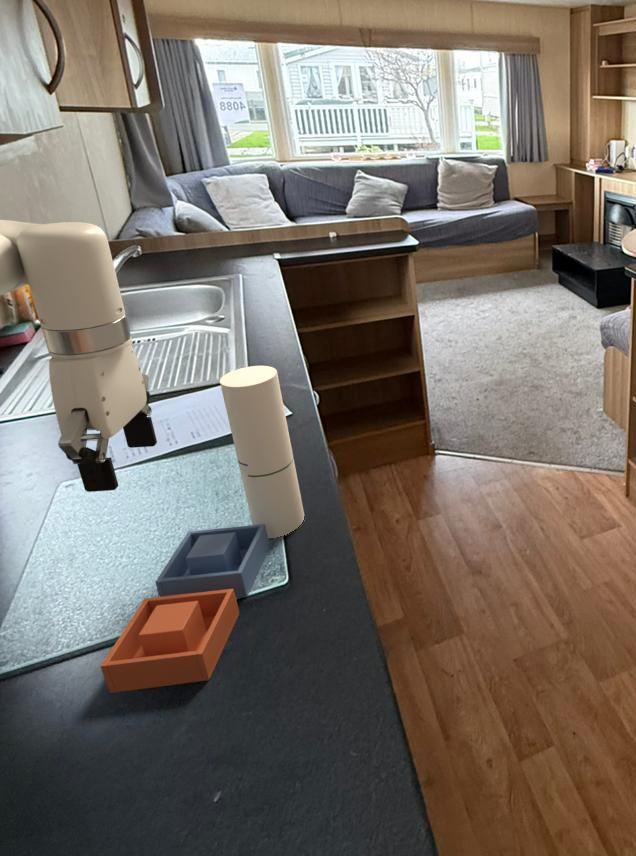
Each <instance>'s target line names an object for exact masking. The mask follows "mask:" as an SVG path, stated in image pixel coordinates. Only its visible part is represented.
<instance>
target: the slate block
mask: <svg viewBox="0 0 636 856" xmlns="http://www.w3.org/2000/svg"><path fill="white" fill-rule="evenodd" d="M241 559H242V558H241V554H240V550H239V545H238V541H237V537H236V533H235V532H234V533H224V534H214V535H203V536H199V538H198V540H197V541H196V543H195V544H194V546H193V548H192V549H191V551H190V552H189V554H188V556H187V557H186V560H187V563H188V567H189V571H190V574H191V575H201V574H210V573H219V572H229V571H236V569H237V567H238V565H239V563H240V561H241Z"/></svg>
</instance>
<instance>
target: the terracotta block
mask: <svg viewBox="0 0 636 856" xmlns="http://www.w3.org/2000/svg"><path fill="white" fill-rule="evenodd" d="M205 631H206V627H205V624H204V620H203V616H202V613H201V609H200V606H199V602H198V601H192V602H183V603H174V604H165V605H157V606H156V608H155V609H154V611H153V612H152V614H151V616H150V617H149V619H148V620H147V622H146V624H145V625H144V627H143V629H142V630H141V632H140V633H139V639H140V642H141V645H142V648H143V651H144V654H145V657H150V656H158V655H166V654H174V653H182V652H190V651H196V649H197V647H198V645H199V643H200V641H201V639H202V637H203V635H204V633H205Z"/></svg>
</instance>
